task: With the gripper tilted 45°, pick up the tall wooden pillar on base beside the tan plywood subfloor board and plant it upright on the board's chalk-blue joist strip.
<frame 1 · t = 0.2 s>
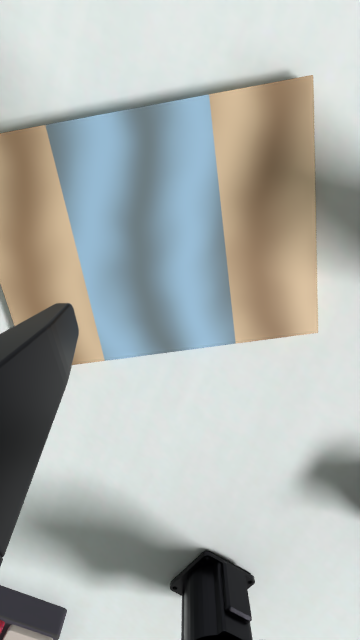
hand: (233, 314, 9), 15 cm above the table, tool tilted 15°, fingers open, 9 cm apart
subfloor board: (151, 243, 23), on the table
calculator: (3, 623, 39), on the table
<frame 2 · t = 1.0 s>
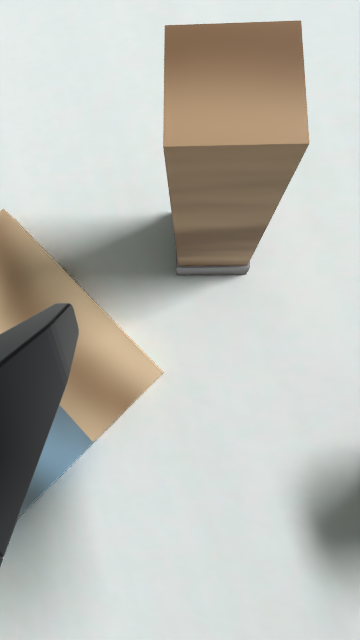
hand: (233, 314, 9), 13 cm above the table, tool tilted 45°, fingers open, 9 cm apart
wooden pillar on base: (211, 242, 23), on the table
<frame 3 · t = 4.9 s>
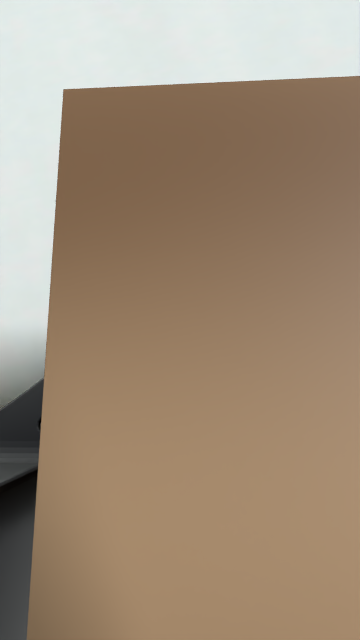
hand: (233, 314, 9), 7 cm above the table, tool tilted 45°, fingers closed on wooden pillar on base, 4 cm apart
wooden pillar on base: (218, 371, 15), on the table, touching gripper
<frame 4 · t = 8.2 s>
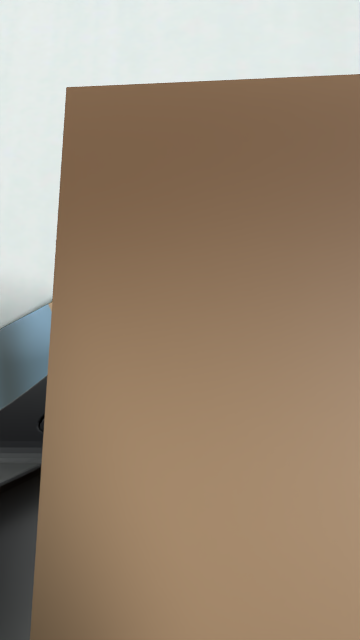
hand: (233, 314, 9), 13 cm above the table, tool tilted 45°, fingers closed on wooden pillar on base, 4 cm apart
wooden pillar on base: (218, 370, 15), point 7 cm above the table, touching gripper
subfloor board: (37, 447, 22), on the table
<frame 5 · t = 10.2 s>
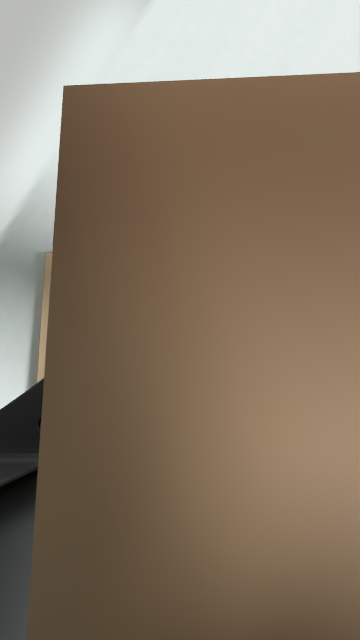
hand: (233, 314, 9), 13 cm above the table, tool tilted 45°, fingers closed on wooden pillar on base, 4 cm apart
wooden pillar on base: (218, 370, 15), point 6 cm above the table, touching gripper
subfloor board: (211, 371, 21), on the table
when the fingers open (9 cm above the table, at t = 11.7 s): wooden pillar on base drops 1 cm, resting on subfloor board.
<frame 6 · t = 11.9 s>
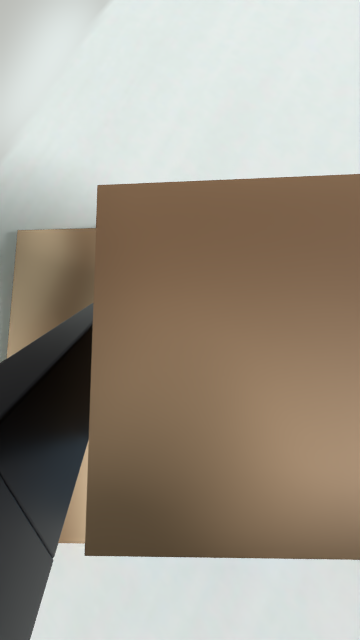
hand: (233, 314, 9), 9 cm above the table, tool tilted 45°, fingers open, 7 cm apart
wooden pillar on base: (216, 371, 17), point 1 cm above the table, touching subfloor board
subfloor board: (214, 372, 18), on the table
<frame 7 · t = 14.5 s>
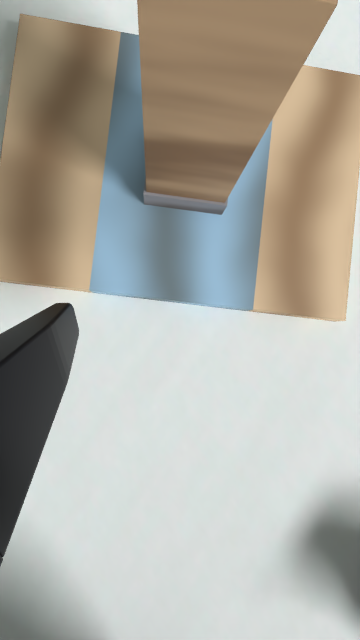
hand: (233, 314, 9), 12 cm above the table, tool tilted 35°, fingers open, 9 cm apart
wooden pillar on base: (187, 171, 20), point 1 cm above the table, touching subfloor board
subfloor board: (185, 180, 21), on the table
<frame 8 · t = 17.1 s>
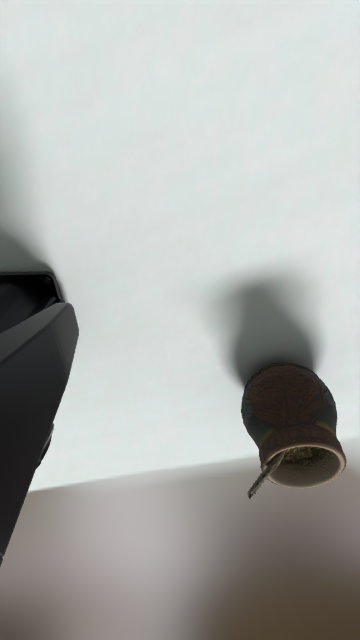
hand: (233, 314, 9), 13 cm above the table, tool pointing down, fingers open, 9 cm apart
mate gourd: (276, 381, 29), on the table
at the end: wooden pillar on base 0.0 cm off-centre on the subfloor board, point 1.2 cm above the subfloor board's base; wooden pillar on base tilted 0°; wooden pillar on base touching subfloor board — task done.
